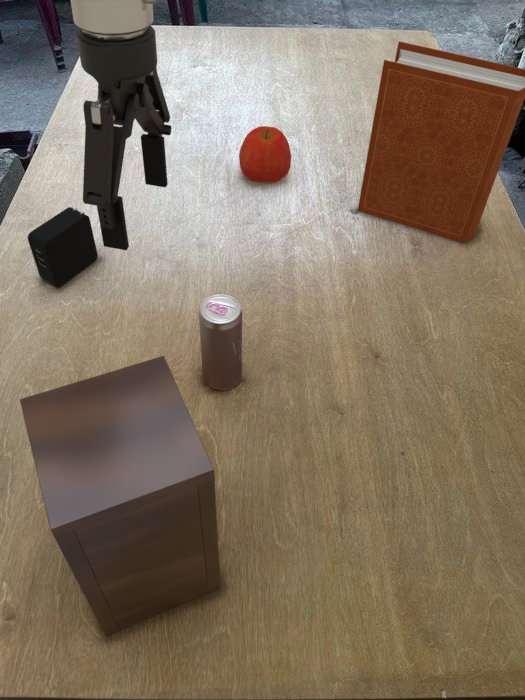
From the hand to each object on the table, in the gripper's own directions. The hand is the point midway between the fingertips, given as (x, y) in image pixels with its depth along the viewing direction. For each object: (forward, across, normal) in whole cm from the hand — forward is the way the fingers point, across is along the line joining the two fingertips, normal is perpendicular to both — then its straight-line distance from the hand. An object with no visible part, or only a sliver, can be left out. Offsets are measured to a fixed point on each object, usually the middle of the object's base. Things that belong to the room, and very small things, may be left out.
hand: (137, 213), depth 75 cm
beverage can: (+29, +2, -10) cm, 31 cm away
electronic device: (+28, +19, +23) cm, 41 cm away
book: (+26, +51, -37) cm, 68 cm away
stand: (+30, -28, -8) cm, 42 cm away
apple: (+26, +56, -4) cm, 62 cm away
